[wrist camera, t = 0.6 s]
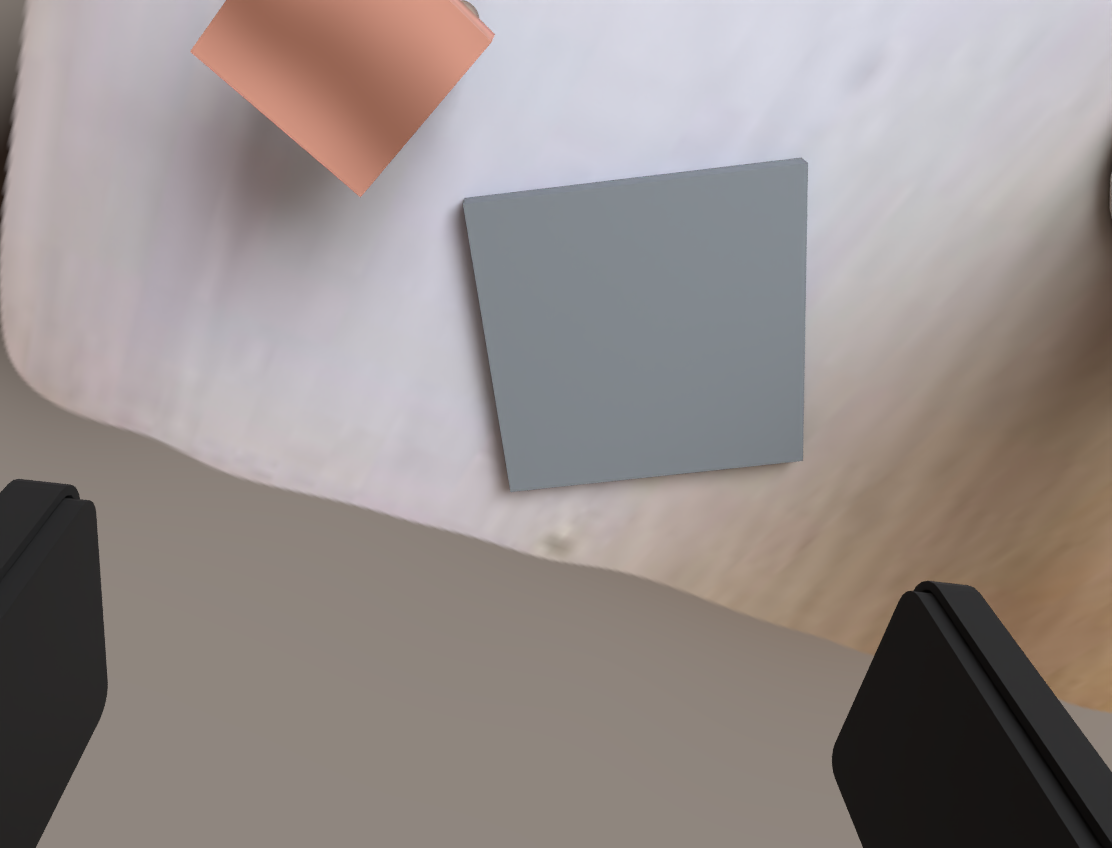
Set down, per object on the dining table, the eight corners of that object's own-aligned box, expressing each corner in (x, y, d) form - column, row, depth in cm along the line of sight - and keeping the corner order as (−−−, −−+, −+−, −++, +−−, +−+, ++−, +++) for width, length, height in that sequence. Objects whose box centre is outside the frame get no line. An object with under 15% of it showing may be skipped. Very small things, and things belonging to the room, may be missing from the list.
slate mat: (801, 157, 37) (807, 162, 36) (797, 450, 44) (802, 460, 43) (464, 198, 38) (463, 204, 37) (511, 480, 44) (510, 491, 44)
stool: (368, -116, 32) (318, -130, 25) (501, 18, 35) (491, 42, 27) (264, 26, 35) (190, 51, 27) (396, 144, 37) (360, 197, 29)
